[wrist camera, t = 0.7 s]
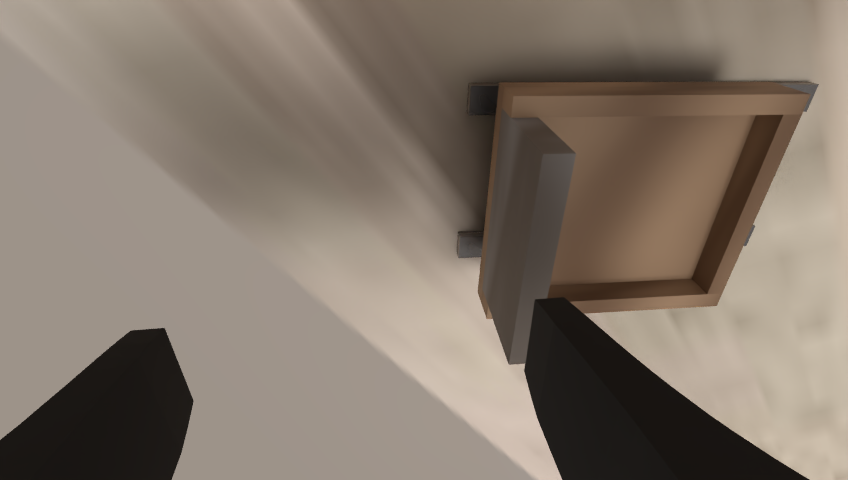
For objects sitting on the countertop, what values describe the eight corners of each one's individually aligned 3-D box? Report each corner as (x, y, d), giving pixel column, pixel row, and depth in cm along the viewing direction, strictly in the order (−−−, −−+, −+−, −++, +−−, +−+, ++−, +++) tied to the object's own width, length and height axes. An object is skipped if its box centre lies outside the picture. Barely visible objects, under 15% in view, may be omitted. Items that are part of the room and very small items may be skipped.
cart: (741, 72, 16) (903, 123, 11) (673, 262, 21) (770, 359, 16) (489, 72, 15) (547, 128, 11) (470, 271, 20) (506, 378, 15)
